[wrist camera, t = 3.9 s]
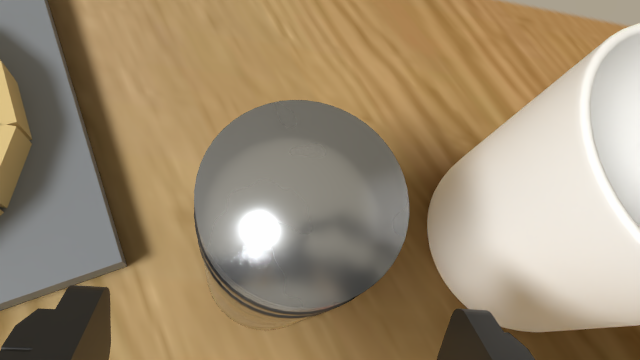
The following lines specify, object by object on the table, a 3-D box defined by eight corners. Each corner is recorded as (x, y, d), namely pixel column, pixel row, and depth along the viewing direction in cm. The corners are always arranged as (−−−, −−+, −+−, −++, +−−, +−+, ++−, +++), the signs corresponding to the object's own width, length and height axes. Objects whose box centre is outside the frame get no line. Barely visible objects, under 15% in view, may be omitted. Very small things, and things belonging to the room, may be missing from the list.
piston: (300, 195, 21) (358, 77, 12) (344, 302, 19) (447, 260, 11) (188, 233, 19) (161, 130, 10) (229, 352, 18) (237, 350, 9)
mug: (663, 230, 24) (960, 147, 14) (646, 399, 20) (1016, 438, 11) (448, 129, 23) (606, -26, 14) (396, 286, 20) (556, 224, 10)
